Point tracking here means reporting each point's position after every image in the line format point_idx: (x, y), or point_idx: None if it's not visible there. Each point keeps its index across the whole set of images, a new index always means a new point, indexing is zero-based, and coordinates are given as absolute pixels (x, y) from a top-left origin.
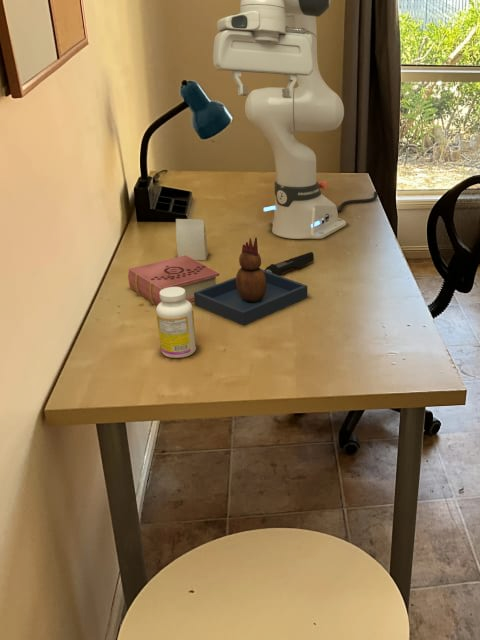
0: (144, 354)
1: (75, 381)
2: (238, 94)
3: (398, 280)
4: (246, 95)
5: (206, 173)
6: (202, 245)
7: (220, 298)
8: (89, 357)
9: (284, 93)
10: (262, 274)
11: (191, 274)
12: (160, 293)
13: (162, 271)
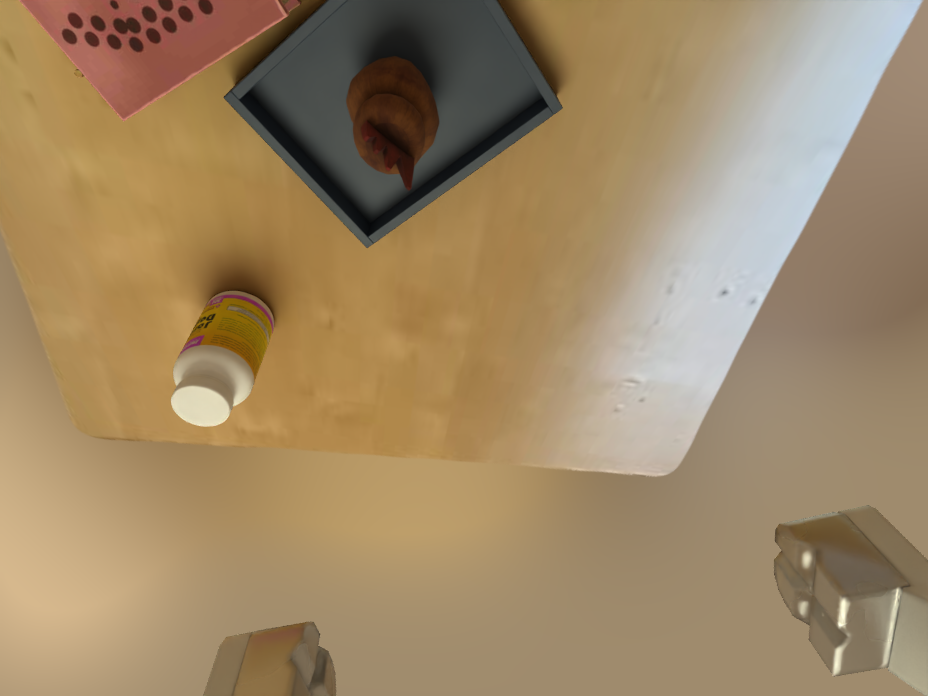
0: (174, 314)
1: (83, 377)
2: (230, 646)
3: (884, 9)
4: (326, 662)
5: None
6: None
7: (304, 68)
8: (67, 307)
9: (806, 593)
10: (426, 148)
11: (193, 14)
12: (175, 411)
13: None
